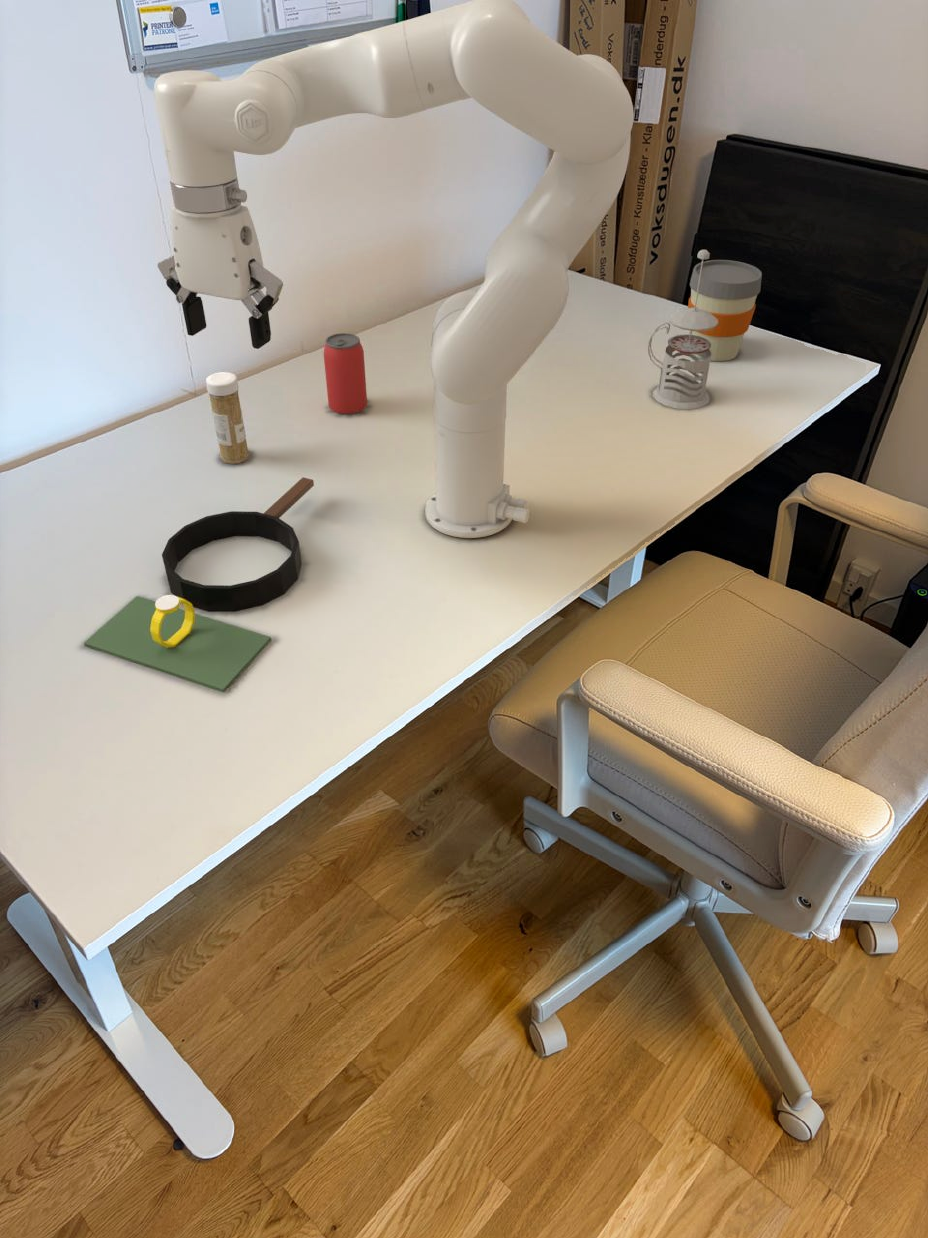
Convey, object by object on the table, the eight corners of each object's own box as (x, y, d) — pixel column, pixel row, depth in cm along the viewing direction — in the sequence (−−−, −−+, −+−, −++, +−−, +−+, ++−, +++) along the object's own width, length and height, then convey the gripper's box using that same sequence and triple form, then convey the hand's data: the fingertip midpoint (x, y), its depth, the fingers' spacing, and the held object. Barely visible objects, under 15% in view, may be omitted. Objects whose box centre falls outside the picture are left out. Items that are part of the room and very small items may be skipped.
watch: (186, 622, 118) (177, 583, 114) (203, 629, 117) (194, 591, 113) (151, 650, 114) (140, 611, 110) (168, 657, 113) (158, 618, 109)
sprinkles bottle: (254, 459, 149) (241, 379, 140) (226, 467, 147) (212, 387, 138) (242, 447, 152) (229, 368, 143) (215, 455, 150) (200, 375, 141)
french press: (705, 412, 161) (732, 263, 145) (637, 402, 164) (656, 255, 148) (713, 388, 168) (739, 243, 152) (647, 378, 171) (667, 235, 155)
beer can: (321, 412, 161) (314, 344, 153) (340, 395, 166) (334, 328, 158) (356, 419, 159) (351, 350, 152) (374, 402, 164) (369, 335, 156)
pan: (254, 626, 118) (249, 601, 115) (141, 591, 123) (134, 567, 121) (362, 511, 138) (360, 489, 135) (260, 486, 143) (257, 464, 140)
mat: (271, 640, 116) (270, 637, 115) (223, 692, 109) (223, 689, 108) (137, 598, 122) (137, 595, 122) (84, 645, 115) (83, 642, 115)
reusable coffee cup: (666, 344, 183) (678, 265, 173) (720, 333, 187) (734, 255, 177) (705, 370, 174) (720, 288, 164) (761, 357, 178) (778, 277, 169)
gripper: (288, 195, 110) (304, 338, 121) (165, 178, 115) (190, 316, 126) (251, 214, 104) (271, 361, 115) (124, 194, 110) (154, 337, 121)
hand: (229, 337), depth 121 cm, fingers open, 9 cm apart
